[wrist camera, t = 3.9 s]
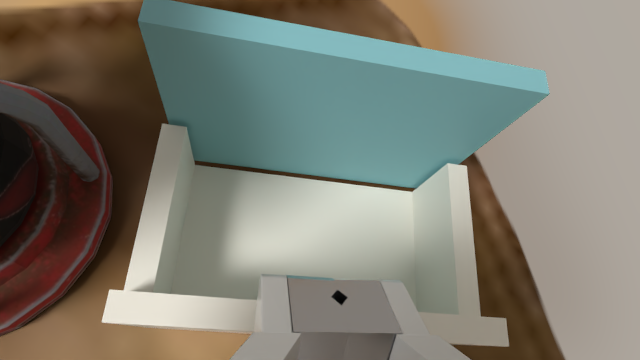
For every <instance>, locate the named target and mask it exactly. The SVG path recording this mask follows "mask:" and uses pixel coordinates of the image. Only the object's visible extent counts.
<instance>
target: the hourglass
mask: <svg viewBox="0 0 640 360" xmlns="http://www.w3.org/2000/svg"><path fill="white" fill-rule="evenodd" d="M112 190H113V178H112V175H111V172H110V169H109V166H108V163H107V160H106V157H105V154H104V151H103V149H102V146H101V145H100V143H99V142H98V140H97V139H96V137H95V136H94V135H93V134H92V132H91V131H90V130H89V129H88V128H87V126H86V125H85V124H84V123H83V122H82V121H81V119H80V118H79V117H78V116H77V115H76V113H75V112H74V111H73V110H72V109H71V108H70V107H68V106H66V105H64V104H63V103H61V102H59V101H58V100H56V99H54V98H53V97H51V96H49V95H47V94H46V93H44V92H42V91H41V90H39V89H37V88H33V87H29V86H25V85H21V84H17V83H13V82H9V81H5V80H1V79H0V335H3V334H5V333H8V332H10V331H13V330H15V329H18V328H20V327H22V326H23V325H24V324H26V323H27V322H28V321H30V320H31V319H32V318H34V317H35V316H37V315H38V314H39V313H41V312H42V311H43V310H45V309H46V308H47V307H49V306H50V305H51V304H53V303H54V302H56V301H57V300H58V299H60V298H61V297H62V296H64V295H65V294H66V292H67V291H68V290H69V289H70V287H71V286H72V285H73V284H74V282H75V281H76V280H77V279H78V278H79V276H80V275H81V274H82V273H83V271H84V270H85V269H86V268H87V266H88V265H89V264H90V263H91V261H92V260H93V259H94V258H95V256H96V253H97V251H98V249H99V246H100V244H101V241H102V239H103V236H104V234H105V231H106V229H107V226H108V224H109V221H110V219H111V211H112Z"/></svg>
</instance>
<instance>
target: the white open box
mask: <svg viewBox="0 0 640 360" xmlns="http://www.w3.org/2000/svg"><path fill="white" fill-rule="evenodd" d="M261 274H274V275H285V276H286V275H293V276H308V277H323V278H333V279H357V280H377V279H380V280H400V281H401V282H403V284H404V286H405V288H406V290H407V292H408V293H409V295H410V297H411V299H412V301H413V303H414V305H415V307H416V309H417V310H418V312H419V314H420V316H421V318H422V320H423V322H424V324H425V326H426V327H427V329H428V331H429V333H430V335H438V336H439V337H441V338H442V339H443V340H445V341H446V342H448V343H449V344H450V345H473V346H503V347H509V340H508V331H507V323H506V318H495V317H481V312H480V302H479V291H478V280H477V270H476V259H475V248H474V238H473V227H472V217H471V206H470V195H469V185H468V174H467V166H464V165H457V164H450V163H447V164H446V165H445V166H444V167H442V168H441V169H440V170H439V171H437V172H436V173H435V174H434V175H433V176H431V177H430V178H429V179H428V180H426V181H425V182H424V183H423V184H421V185H420V186H419V187H418V188H417V189H415V190H414V191H413V192H409V191H401V190H393V189H385V188H377V187H369V186H361V185H353V184H344V183H336V182H328V181H320V180H312V179H304V178H296V177H288V176H280V175H272V174H264V173H256V172H248V171H240V170H232V169H224V168H216V167H208V166H200V165H195V163H194V158H193V154H192V149H191V145H190V140H189V136H188V131H187V127H184V126H177V125H170V124H163V123H162V127H161V131H160V136H159V140H158V144H157V148H156V153H155V157H154V161H153V166H152V170H151V174H150V179H149V183H148V187H147V192H146V196H145V200H144V205H143V209H142V213H141V218H140V222H139V226H138V231H137V235H136V239H135V244H134V248H133V252H132V257H131V261H130V265H129V270H128V274H127V278H126V283H125V287H124V291H123V290H109V294H108V298H107V302H106V307H105V311H104V315H103V319H102V322H103V323H112V324H120V325H129V326H138V327H147V328H162V329H179V330H196V331H213V332H230V333H247V334H252V333H253V332H254V321H255V312H256V304H257V296H258V288H259V280H260V276H261Z"/></svg>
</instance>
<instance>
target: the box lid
mask: <svg viewBox="0 0 640 360" xmlns="http://www.w3.org/2000/svg"><path fill="white" fill-rule="evenodd" d="M138 23H139V27H140V30H141V33H142V37H143V40H144V43H145V46H146V50H147V53H148V56H149V60H150V63H151V66H152V69H153V73H154V76H155V79H156V83H157V86H158V89H159V93H160V96H161V99H162V102H163V106H164V109H165V112H166V116H167V119H168V122H169V124H170V125H177V126H184V127H187V131H188V136H189V140H190V145H191V149H192V154H193V158H194V160H195V161H203V162H211V163H219V164H227V165H235V166H243V167H251V168H259V169H266V170H274V171H282V172H290V173H298V174H306V175H314V176H322V177H330V178H338V179H346V180H354V181H361V182H369V183H377V184H385V185H393V186H401V187H409V188H418V187H419V186H420V185H421V184H423V183H424V182H425V181H426V180H428V179H429V178H430V177H431V176H433V175H434V174H435V173H436V172H437V171H439V170H440V169H441V168H442V167H444V166H445V165H446V164H447V163H450V164H457V165H458V164H460V163H461V162H462V161H463V160H465V159H466V158H467V157H469V156H470V155H471V154H473V153H474V152H475V151H476V150H478V149H479V148H480V147H482V146H483V145H484V144H486V143H487V142H488V141H489V140H491V139H492V138H493V137H495V136H496V135H497V134H498V133H500V132H501V131H502V130H504V129H505V128H506V127H508V126H509V125H510V124H511V123H513V122H514V121H515V120H517V119H518V118H519V117H521V116H522V115H523V114H524V113H526V112H527V111H528V110H530V109H531V108H532V107H534V106H535V105H536V104H537V103H539V102H540V101H541V100H543V99H544V98H545V97H546V96H548V95H549V89H548V84H547V78H546V73H545V71H543V70H537V69H531V68H526V67H521V66H516V65H510V64H505V63H500V62H495V61H490V60H484V59H479V58H473V57H468V56H463V55H458V54H452V53H447V52H442V51H436V50H431V49H426V48H420V47H415V46H410V45H404V44H399V43H394V42H389V41H383V40H378V39H373V38H367V37H362V36H357V35H351V34H346V33H341V32H335V31H330V30H325V29H319V28H314V27H309V26H304V25H298V24H293V23H288V22H282V21H277V20H272V19H266V18H261V17H256V16H250V15H245V14H240V13H234V12H229V11H224V10H218V9H213V8H208V7H203V6H197V5H192V4H187V3H181V2H176V1H171V0H144V1H143V5H142V8H141V12H140V15H139V19H138Z"/></svg>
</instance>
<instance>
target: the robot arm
mask: <svg viewBox="0 0 640 360" xmlns="http://www.w3.org/2000/svg"><path fill="white" fill-rule="evenodd" d="M230 360H471V359H470V358H468V357H467V356H465V355H464V354H463V353H461V352H460V351H459V350H457V349H456V348H454V347H453V346H452V345H450V344H449V343H448V342H446V341H445V340H443V339H442V338H441V337H439V336H438V335H430V333H429V331H428V329H427V327H426V326H425V324H424V322H423V320H422V318H421V316H420V314H419V312H418V310H417V309H416V307H415V305H414V303H413V301H412V299H411V297H410V295H409V293H408V292H407V290H406V288H405V286H404V284H403V282H401V281H400V280H380V279H377V280H357V279H333V278H323V277H308V276H293V275H286V276H285V275H274V274H261V276H260V280H259V288H258V296H257V304H256V312H255V321H254V332H253V333H252V334H251V336H250V337H249V338H248V339H247V340H246V341H245V342H244V344H243V345H242V346H241V347H240V348H239V349H238V350H237V352H236V353H235V354H234V355H233V356H232V357H231V358H230Z"/></svg>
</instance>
